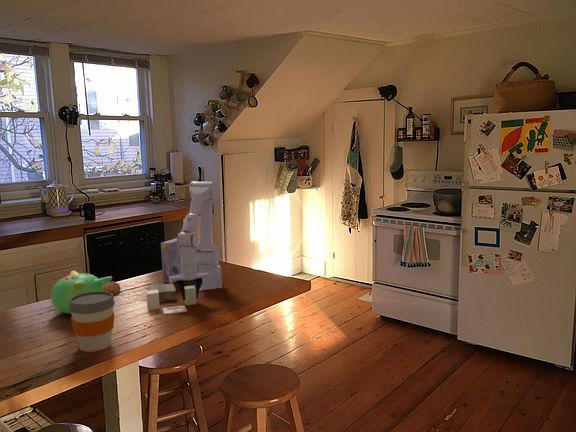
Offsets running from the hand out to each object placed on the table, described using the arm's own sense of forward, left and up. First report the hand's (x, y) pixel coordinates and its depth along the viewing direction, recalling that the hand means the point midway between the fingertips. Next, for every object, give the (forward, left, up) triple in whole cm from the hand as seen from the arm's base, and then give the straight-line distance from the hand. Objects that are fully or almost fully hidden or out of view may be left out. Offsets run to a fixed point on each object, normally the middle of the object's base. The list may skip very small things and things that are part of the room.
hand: (190, 298), depth 184 cm
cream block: (+13, 0, -2) cm, 14 cm away
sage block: (0, 0, -2) cm, 2 cm away
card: (+6, +6, -2) cm, 9 cm away
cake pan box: (-1, -36, -2) cm, 36 cm away
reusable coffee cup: (+32, +28, -2) cm, 43 cm away
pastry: (+28, -25, -2) cm, 38 cm away
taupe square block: (+9, -11, -2) cm, 15 cm away
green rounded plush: (+38, -5, -2) cm, 39 cm away
